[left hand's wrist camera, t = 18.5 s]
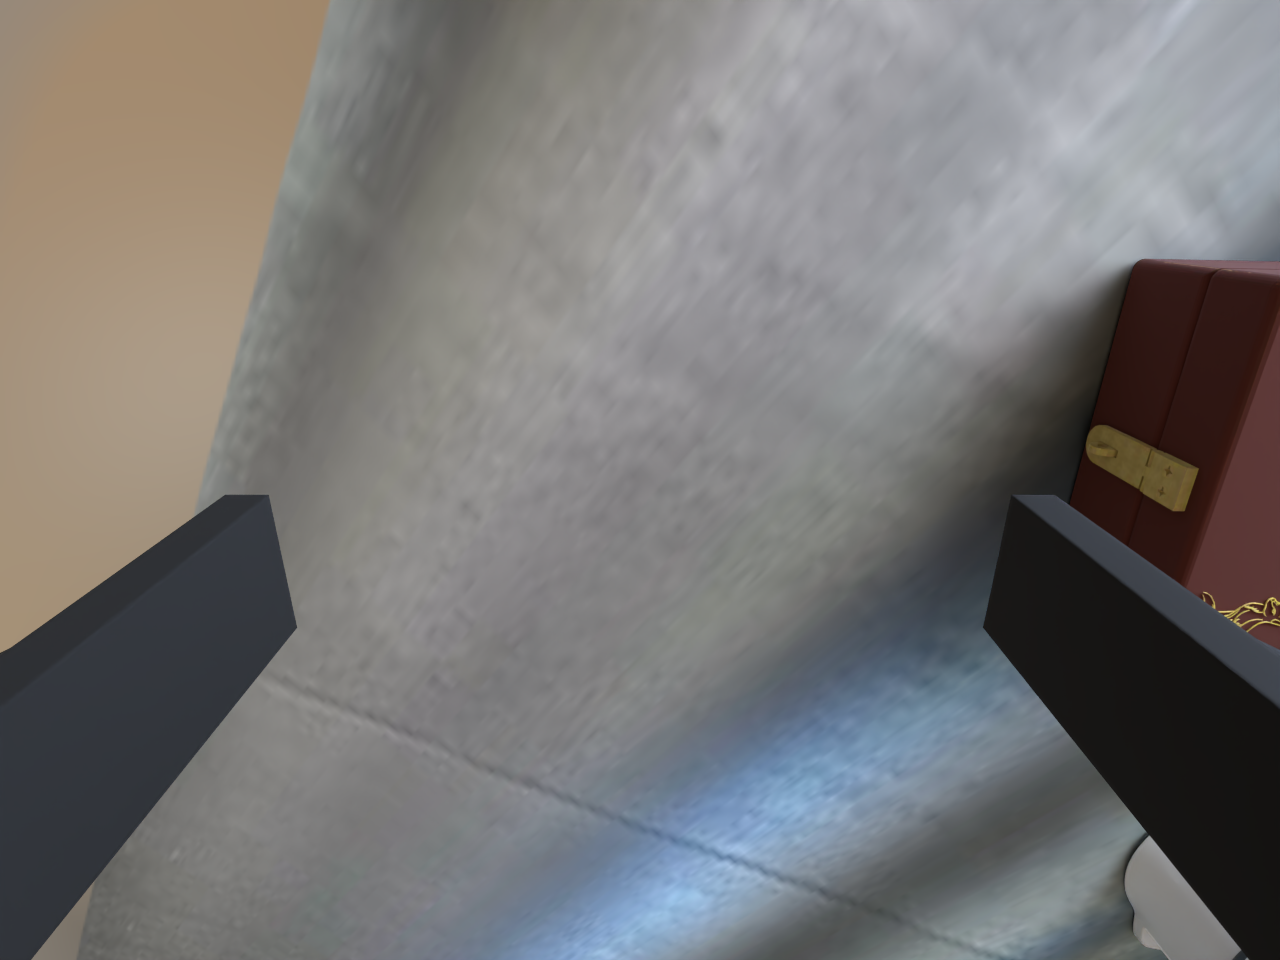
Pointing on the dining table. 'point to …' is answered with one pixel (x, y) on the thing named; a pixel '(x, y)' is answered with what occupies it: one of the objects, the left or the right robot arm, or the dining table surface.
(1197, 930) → the right robot arm
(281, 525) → the dining table surface
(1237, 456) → the box
